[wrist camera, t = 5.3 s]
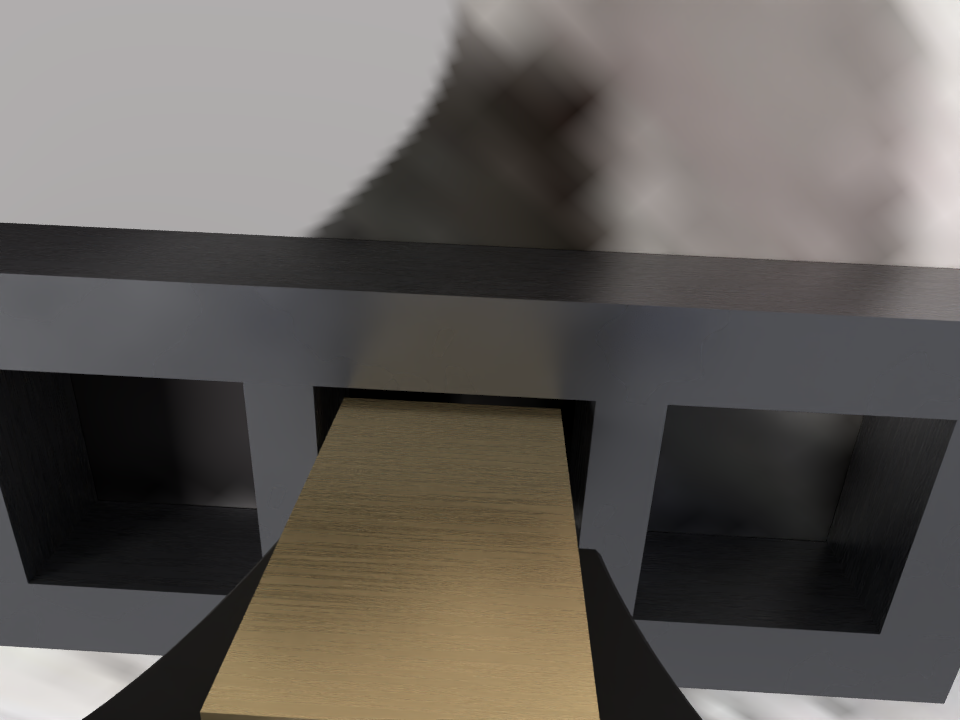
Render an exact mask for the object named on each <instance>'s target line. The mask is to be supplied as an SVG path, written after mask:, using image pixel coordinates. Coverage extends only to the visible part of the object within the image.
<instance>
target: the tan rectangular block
mask: <svg viewBox="0 0 960 720" xmlns="http://www.w3.org/2000/svg"><path fill="white" fill-rule="evenodd" d="M200 715H201V720H600V719H599V711H598V703H597V695H596V687H595V679H594V671H593V663H592V655H591V647H590V639H589V631H588V623H587V615H586V607H585V599H584V591H583V584H582V576H581V568H580V560H579V552H578V544H577V536H576V528H575V520H574V512H573V504H572V496H571V488H570V480H569V472H568V464H567V456H566V448H565V441H564V433H563V425H562V417H561V409H553V408H534V407H515V406H496V405H477V404H458V403H439V402H419V401H400V400H381V399H362V398H344V399H343V402H342V404H341V406H340V408H339V410H338V412H337V415H336V417H335V419H334V421H333V423H332V426H331V428H330V430H329V432H328V434H327V436H326V439H325V441H324V443H323V445H322V447H321V450H320V452H319V454H318V456H317V458H316V460H315V463H314V465H313V467H312V469H311V471H310V473H309V476H308V478H307V480H306V482H305V484H304V487H303V489H302V491H301V493H300V495H299V497H298V500H297V502H296V504H295V506H294V508H293V511H292V513H291V515H290V517H289V519H288V521H287V524H286V526H285V528H284V530H283V532H282V534H281V537H280V539H279V541H278V543H277V545H276V548H275V550H274V552H273V554H272V556H271V558H270V561H269V563H268V565H267V567H266V569H265V572H264V574H263V576H262V578H261V580H260V582H259V585H258V587H257V589H256V591H255V593H254V596H253V598H252V600H251V602H250V604H249V606H248V609H247V611H246V613H245V615H244V617H243V619H242V622H241V624H240V626H239V628H238V630H237V633H236V635H235V637H234V639H233V641H232V643H231V646H230V648H229V650H228V652H227V654H226V657H225V659H224V661H223V663H222V665H221V667H220V670H219V672H218V674H217V676H216V678H215V681H214V683H213V685H212V687H211V689H210V691H209V694H208V696H207V698H206V700H205V702H204V704H203V707H202V709H201V711H200Z"/></svg>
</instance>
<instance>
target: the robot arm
mask: <svg viewBox="0 0 960 720" xmlns="http://www.w3.org/2000/svg"><path fill="white" fill-rule="evenodd" d="M278 541H279V540H278ZM278 541H277V542H276V543H275V544H274V545H273V546H272V547H271V549H270V550H269V551H268V552H267V553H266V554H265V555H264V556H263V557H262V559H261V560H260V561H259V562H258V563H257V564H256V565H255V566H254V567H253V568H252V569H251V571H250V572H249V573H248V574H247V575H246V576H245V577H244V578H243V579H242V580H241V581H240V582H239V583H238V584H237V585H236V586H235V588H234V589H233V590H232V591H231V592H230V593H229V594H228V595H227V596H226V597H225V598H224V599H223V600H222V601H221V602H220V603H219V604H218V605H217V606H216V607H215V608H214V609H213V610H212V611H211V612H210V613H209V614H208V615H207V616H206V617H205V618H204V619H203V620H202V621H201V622H200V623H199V624H197V625H196V626H195V627H194V628H193V629H192V630H191V631H190V632H189V633H188V634H187V635H186V636H184V637H183V638H182V639H181V640H180V641H179V642H178V643H177V644H176V645H175V646H174V647H172V648H171V649H170V650H169V651H168V652H167V653H166V654H165V655H164V656H163V657H161V658H160V659H159V660H158V661H157V662H156V663H154V664H153V665H152V666H151V667H150V668H148V669H147V670H146V671H145V672H144V673H143V674H141V675H140V676H139V677H138V678H136V679H135V680H134V681H133V682H131V683H130V684H129V685H128V686H126V687H125V688H124V689H123V690H121V691H120V692H119V693H117V694H116V695H115V696H114V697H112V698H111V699H110V700H108V701H107V702H106V703H104V704H103V705H102V706H100V707H99V708H98V709H96V710H95V711H93V712H92V713H91V714H89V715H88V716H86V717H85V718H83V719H82V720H201V715H200V711H201V709H202V707H203V704H204V702H205V700H206V698H207V696H208V694H209V691H210V689H211V687H212V685H213V683H214V681H215V678H216V676H217V674H218V672H219V670H220V667H221V665H222V663H223V661H224V659H225V657H226V654H227V652H228V650H229V648H230V646H231V643H232V641H233V639H234V637H235V635H236V633H237V630H238V628H239V626H240V624H241V622H242V619H243V617H244V615H245V613H246V611H247V609H248V606H249V604H250V602H251V600H252V598H253V596H254V593H255V591H256V589H257V587H258V585H259V582H260V580H261V578H262V576H263V574H264V572H265V569H266V567H267V565H268V563H269V561H270V558H271V556H272V554H273V552H274V550H275V548H276V545H277V543H278ZM578 552H579V560H580V568H581V576H582V584H583V591H584V599H585V607H586V615H587V623H588V631H589V639H590V647H591V655H592V663H593V671H594V679H595V687H596V695H597V703H598V711H599V719H600V720H702V719H701V717H700V716H699V715H698V713H697V712H696V711H695V710H694V708H693V707H692V706H691V704H690V703H689V702H688V700H687V699H686V698H685V696H684V695H683V694H682V692H681V691H680V689H679V688H678V687H677V685H676V684H675V682H674V681H673V679H672V678H671V677H670V675H669V674H668V672H667V671H666V669H665V668H664V667H663V665H662V664H661V662H660V661H659V659H658V657H657V656H656V654H655V653H654V651H653V650H652V648H651V647H650V645H649V643H648V642H647V640H646V638H645V637H644V635H643V634H642V632H641V630H640V629H639V627H638V626H637V624H636V622H635V621H634V619H633V617H632V615H631V614H630V612H629V610H628V608H627V607H626V605H625V603H624V601H623V599H622V597H621V596H620V594H619V592H618V590H617V588H616V586H615V584H614V582H613V580H612V578H611V576H610V574H609V572H608V570H607V568H606V565H605V563H604V561H603V559H602V556H601V555H600V553H599V552H598V551H597V550H596V549H583V548H578Z"/></svg>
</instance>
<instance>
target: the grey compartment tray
mask: <svg viewBox="0 0 960 720" xmlns="http://www.w3.org/2000/svg"><path fill="white" fill-rule="evenodd" d="M70 373H77V374H96V375H115V376H134V377H153V378H172V379H191V380H210V381H229V382H243V388H244V397H245V406H246V415H247V424H248V432H249V441H250V450H251V459H252V468H253V477H254V486H255V495H256V504H257V509H239V508H221V507H204V506H186V505H169V504H151V503H133V502H116V501H98V499H97V494H96V490H95V485H94V481H93V476H92V472H91V467H90V463H89V458H88V454H87V449H86V445H85V440H84V436H83V431H82V427H81V422H80V418H79V413H78V409H77V405H76V400H75V396H74V391H73V387H72V382H71V378H70ZM349 388H361V389H380V390H399V391H418V392H436V393H455V394H474V395H493V396H512V397H531V398H550V399H569V400H576V405H575V415H574V424H573V434H572V443H571V453H570V462H569V480H570V488H571V496H572V504H573V512H574V520H575V528H576V536H577V544H578V548H583V549H596V550H597V551H598V552H599V553H600V555H601V556H602V559H603V561H604V563H605V565H606V568H607V570H608V572H609V574H610V576H611V578H612V580H613V582H614V584H615V586H616V588H617V590H618V592H619V594H620V596H621V597H622V599H623V601H624V603H625V605H626V607H627V608H628V610H629V612H630V614H631V615H632V617H633V619H634V621H635V622H636V624H637V626H638V627H639V629H640V630H641V632H642V634H643V635H644V637H645V638H646V640H647V642H648V643H649V645H650V647H651V648H652V650H653V651H654V653H655V654H656V656H657V657H658V659H659V661H660V662H661V664H662V665H663V667H664V668H665V669H666V671H667V672H668V674H669V675H670V677H671V678H672V679H673V681H674V682H675V684H676V685H677V687H683V688H699V689H715V690H731V691H748V692H764V693H780V694H797V695H813V696H829V697H845V698H862V699H878V700H894V701H911V702H927V703H943V704H944V703H945V700H946V698H947V696H948V693H949V691H950V689H951V686H952V684H953V682H954V680H955V677H956V675H957V673H958V670H959V668H960V269H946V268H925V267H905V266H884V265H863V264H843V263H822V262H801V261H781V260H760V259H739V258H719V257H698V256H678V255H657V254H636V253H616V252H595V251H574V250H554V249H533V248H512V247H492V246H471V245H450V244H430V243H409V242H388V241H368V240H347V239H326V238H306V237H284V236H264V235H243V234H223V233H203V232H181V231H160V230H140V229H119V228H99V227H98V228H97V227H78V226H58V225H37V224H17V223H0V646H15V647H31V648H47V649H64V650H80V651H96V652H112V653H129V654H145V655H161V656H164V655H165V654H166V653H167V652H168V651H169V650H170V649H171V648H172V647H174V646H175V645H176V644H177V643H178V642H179V641H180V640H181V639H182V638H183V637H184V636H186V635H187V634H188V633H189V632H190V631H191V630H192V629H193V628H194V627H195V626H196V625H197V624H199V623H200V622H201V621H202V620H203V619H204V618H205V617H206V616H207V615H208V614H209V613H210V612H211V611H212V610H213V609H214V608H215V607H216V606H217V605H218V604H219V603H220V602H221V601H222V600H223V599H224V598H225V597H226V596H227V595H228V594H229V593H230V592H231V591H232V590H233V589H234V588H235V586H236V585H237V584H238V583H239V582H240V581H241V580H242V579H243V578H244V577H245V576H246V575H247V574H248V573H249V572H250V571H251V569H252V568H253V567H254V566H255V565H256V564H257V563H258V562H259V561H260V560H261V559H262V557H263V556H264V555H265V554H266V553H267V552H268V551H269V550H270V549H271V547H272V546H273V545H274V544H275V543H276V542H277V541H278V540H279V539H280V537H281V534H282V532H283V530H284V528H285V526H286V524H287V521H288V519H289V517H290V515H291V513H292V511H293V508H294V506H295V504H296V502H297V500H298V497H299V495H300V493H301V491H302V489H303V487H304V484H305V482H306V480H307V478H308V476H309V473H310V471H311V469H312V467H313V465H314V463H315V460H316V458H317V456H318V454H319V452H320V450H321V447H322V445H323V443H324V441H325V439H326V436H327V434H328V432H329V430H330V428H331V426H332V423H333V421H334V419H335V417H336V415H337V412H338V410H339V408H340V406H341V404H342V402H343V399H344V398H349ZM668 405H682V406H701V407H720V408H739V409H758V410H777V411H795V412H814V413H833V414H852V415H864V418H863V421H862V425H861V428H860V431H859V435H858V438H857V441H856V445H855V448H854V452H853V455H852V458H851V462H850V465H849V468H848V472H847V475H846V479H845V482H844V485H843V489H842V492H841V495H840V499H839V502H838V505H837V509H836V512H835V516H834V519H833V522H832V526H831V529H830V532H829V536H828V539H827V542H820V541H803V540H785V539H767V538H750V537H732V536H715V535H697V534H679V533H662V532H647V527H648V521H649V515H650V509H651V503H652V497H653V491H654V485H655V479H656V473H657V467H658V461H659V455H660V449H661V442H662V436H663V430H664V424H665V418H666V412H667V406H668Z"/></svg>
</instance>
